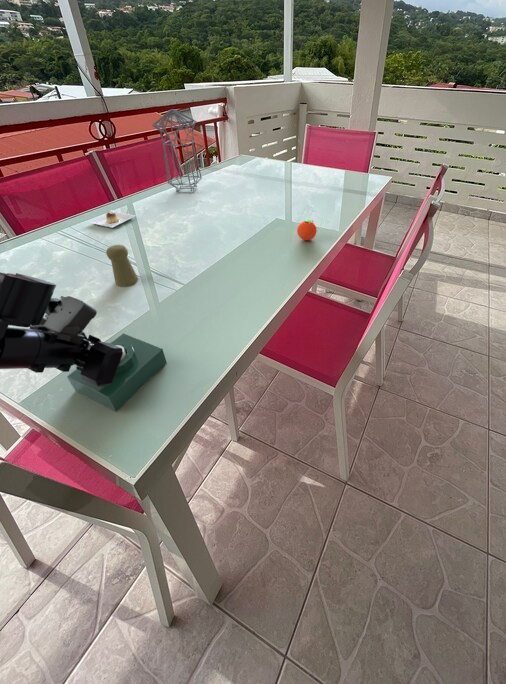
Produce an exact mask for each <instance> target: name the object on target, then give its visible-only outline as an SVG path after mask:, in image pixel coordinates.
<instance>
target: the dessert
mask: <svg viewBox="0 0 506 684" xmlns="http://www.w3.org/2000/svg"><path fill="white" fill-rule="evenodd" d="M135 217H136V215H135V214H129V213H125V212H124V213H123V212H118V211H114V210H111V209H110V210H109V211H107V212H106V213H105V214H103V215H101V216H99V217H96V218H94V219H92V220H90V221H87V223H88V224H92V225H97V226H102V227H107V228H111V229H114V228H116V227H118V226H121V225H122V224H124V223H126V222H128V221H130V220H132V219H133V218H135Z"/></svg>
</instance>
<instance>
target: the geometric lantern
mask: <svg viewBox="0 0 506 684" xmlns="http://www.w3.org/2000/svg"><path fill="white" fill-rule="evenodd" d="M173 115H174V117H175V120H173ZM187 119H188V120H187ZM196 123H197V120H195V119H193V118H191V117H190V116H188V115H187V114H184V113H182V112H180V111H179V110H176V109H175V108H171V109H169V110H168V112H166V113H165V114H163V115H162V116H161V117H159V119H157V120H156V121H155V122H154V123H152V125H151V126H152V127H153V128H155V129H156V130H158V131H159V132H160V137H161V142H162V147H163V156H164V162H165V163H164V164H165V172H166V181H167V184H168V185H170V186H172V187H173V188H175V191H176V193H177V194H194V193H195V192H196V190H197V189H198V183H199V182H200V181H201V180H202V179H203V177H202V173H201V169H200V165H199V161H198V156H197V152H196V147H195V143H194V142H195V141H194V140H195V139H194V128H195V125H196ZM168 124H169V125H168ZM176 124H179V125H176ZM166 128H170V130H171V132H170V133H168V132H167V129H166ZM173 129H176V130H175V131H173ZM180 130H181V131H182V130H183V131H184V132H185V134H186V138H185V139H180V138H179V137H178V134H179V132H180ZM186 130H187V131H186ZM163 133H164V135H165V136H164V137H163ZM189 134H191V136H192V138H190V136H189ZM169 135H171V136H172V135H174V138H173V139H171V138H170V137H169ZM166 138H168V140H166ZM176 140H177V141H178V142H179V143H180V144H176ZM182 141H184V143H183V142H182ZM187 141H190V142H189V143H187ZM173 142H174V144H172V143H173ZM186 143H187V144H186ZM190 144H191V148H192V153H193V160H194V165H195V170H196V175H195V174H194V169H193V165H192V160H191V156H190V152H189V148H188V146H189V145H190ZM166 146H170V149H171V150H170V151H171V157H172V164H173V173H174V177H173V178H172V176H171V172H170V164H169V159H168V154H167V149H166ZM173 146H174V149H175V155H176V161H177V166H178V173H179V175H177V173H176V166H175V165H176V164H175V157H174V150H173ZM177 146H178V147H179V146H181V148H182V153H183V159H184V165H185V169H186V170H185V171H186V174H187V175H182V173H181V167H180V161H179V156H178V148H177ZM184 146H185V148H186V151H187V152H186V153H187V156H188V160H189V166H190V169H191V175H190V174H189V169H188V164H187V159H186V158H187V157H186V153H185V148H184ZM178 178H180V181H179V179H178ZM182 178H187V180H188V182H183V179H182ZM190 178H193V182H192V183H191V179H190ZM175 179H176V181H177V183H173V181H174V180H175ZM180 189H181V190H182V189H183V190H186V189H187V190H190V191H179V190H180Z"/></svg>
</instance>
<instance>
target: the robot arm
mask: <svg viewBox="0 0 506 684" xmlns="http://www.w3.org/2000/svg"><path fill="white" fill-rule="evenodd" d="M56 287H57V284H56V283H54V282H51V281H47V280H44V279H42V278H39V277H34V276H31V275H27V274H22V273H17V272H16V273H11V272H10V273H9V272H7V273H5V272H0V370H19V369H20V370H21V369H28V370H30V371H32V372H34V373H36V374H41V373H44V371H45V369H56V370H59V371H60V372H62V373H69V372H70V370H71V367H72V366H76V369H78V370H80V371H81V373H80V374H81V376H82V378H83V379H84V380H86V381H88V382H90V383H92V384H94V385H96V386H98V387H99V386H108V385H110V384H112V381H113V379H114V376H115V373H116V371H117V368H118V365H119V363H120V360H121V357H122V355H123V351H122V348H120V347H117V346H115V345H113V344H110V343H111V342H110V343H109V342H105V341H102V340H101V339H100V338H99V337H97V336H94V335H92V334H89V335H88V337H87V335H86V333H85V332H84V331H85V329H86V327H87V326H88V325H89V324H90V322H91V321H92V320H93V319H95V317H96V316H97V313H98V311H97V310H96V309H95V308H94V307H92V306H90V305H89V304H88V303H86V302H85V301H83V300H81V299H78V298H75V297H73V296H69V295H66V296H64V295H61V296H60V297H59V298H56V297H53V295H54V293H55V290H56ZM10 326H12V327H10ZM76 369H75V370H76Z"/></svg>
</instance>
